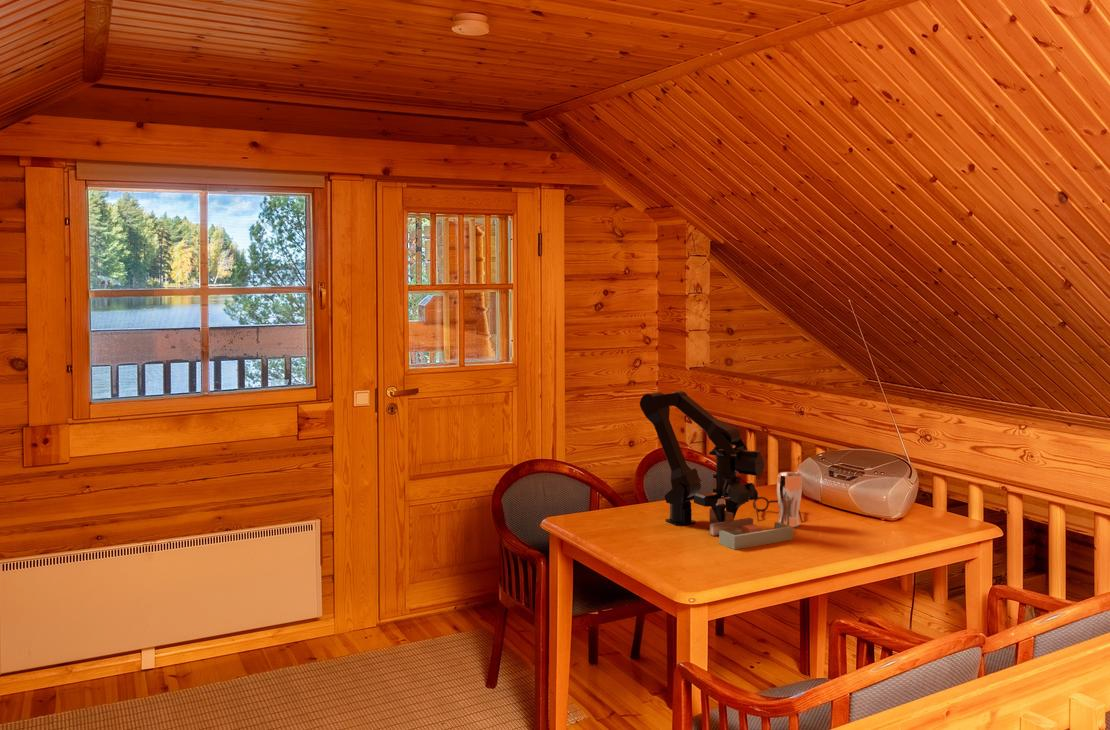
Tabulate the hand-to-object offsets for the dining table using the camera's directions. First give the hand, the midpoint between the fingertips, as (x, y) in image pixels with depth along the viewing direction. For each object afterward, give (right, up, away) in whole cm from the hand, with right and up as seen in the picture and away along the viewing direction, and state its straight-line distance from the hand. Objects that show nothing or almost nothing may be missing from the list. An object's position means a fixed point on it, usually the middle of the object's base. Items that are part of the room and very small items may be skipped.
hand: (725, 526), depth 280 cm
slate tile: (0, -2, -8) cm, 8 cm away
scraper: (-1, -1, +1) cm, 2 cm away
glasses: (+18, 0, +16) cm, 24 cm away
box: (+6, -2, -12) cm, 13 cm away
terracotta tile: (+6, -2, -4) cm, 8 cm away
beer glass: (+19, -1, +5) cm, 20 cm away
